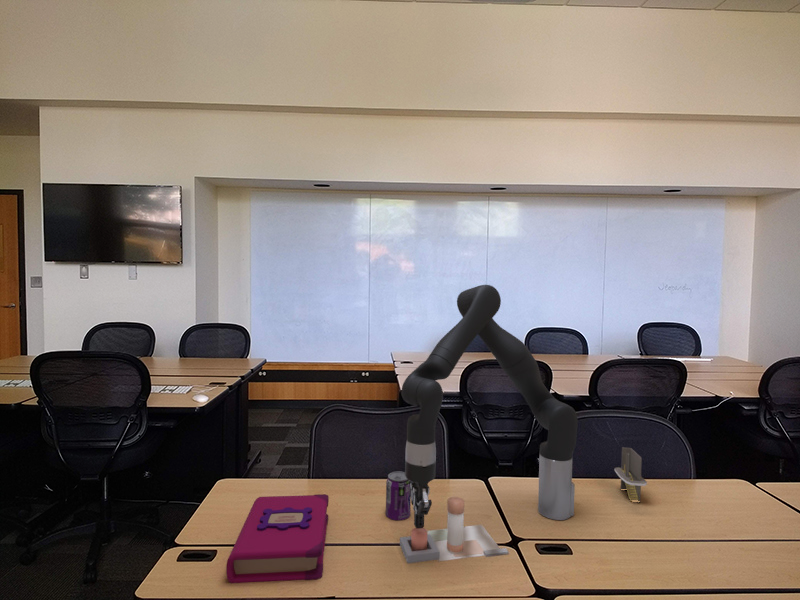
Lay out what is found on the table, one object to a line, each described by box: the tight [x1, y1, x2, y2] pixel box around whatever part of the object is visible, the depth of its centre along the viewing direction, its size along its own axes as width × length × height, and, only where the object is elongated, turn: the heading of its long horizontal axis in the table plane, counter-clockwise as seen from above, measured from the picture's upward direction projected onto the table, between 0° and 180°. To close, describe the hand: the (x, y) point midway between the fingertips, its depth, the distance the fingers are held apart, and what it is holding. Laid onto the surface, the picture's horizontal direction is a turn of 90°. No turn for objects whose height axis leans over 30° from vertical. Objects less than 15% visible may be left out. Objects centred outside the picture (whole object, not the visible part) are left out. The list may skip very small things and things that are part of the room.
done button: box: [410, 527, 428, 551], centre depth 114 cm, size 4×4×4 cm
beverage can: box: [385, 471, 412, 521], centre depth 132 cm, size 7×7×12 cm
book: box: [225, 493, 329, 584], centre depth 117 cm, size 21×28×8 cm
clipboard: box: [427, 524, 510, 562], centre depth 119 cm, size 20×16×1 cm
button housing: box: [399, 534, 440, 564], centre depth 114 cm, size 8×8×2 cm
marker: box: [446, 496, 465, 554], centre depth 115 cm, size 4×4×12 cm
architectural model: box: [614, 447, 648, 502], centre depth 147 cm, size 20×25×15 cm
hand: (419, 526), depth 114 cm, fingers closed
